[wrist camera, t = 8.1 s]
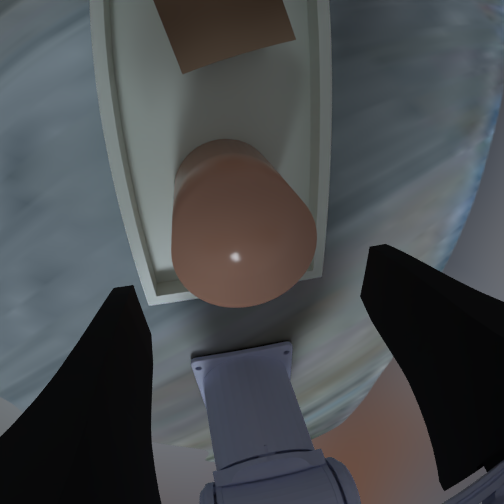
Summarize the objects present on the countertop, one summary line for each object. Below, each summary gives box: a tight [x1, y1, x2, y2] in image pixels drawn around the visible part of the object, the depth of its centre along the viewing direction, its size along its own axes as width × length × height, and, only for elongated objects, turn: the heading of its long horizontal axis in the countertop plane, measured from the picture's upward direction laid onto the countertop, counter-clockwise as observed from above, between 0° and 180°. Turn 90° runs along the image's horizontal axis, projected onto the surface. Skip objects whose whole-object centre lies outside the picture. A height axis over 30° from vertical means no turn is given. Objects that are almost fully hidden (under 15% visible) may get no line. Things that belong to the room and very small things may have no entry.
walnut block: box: [153, 0, 296, 74], centre depth 9 cm, size 4×4×4 cm
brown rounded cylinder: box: [171, 139, 317, 308], centre depth 13 cm, size 5×5×6 cm
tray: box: [90, 0, 332, 306], centre depth 14 cm, size 17×10×2 cm, turn 3°
